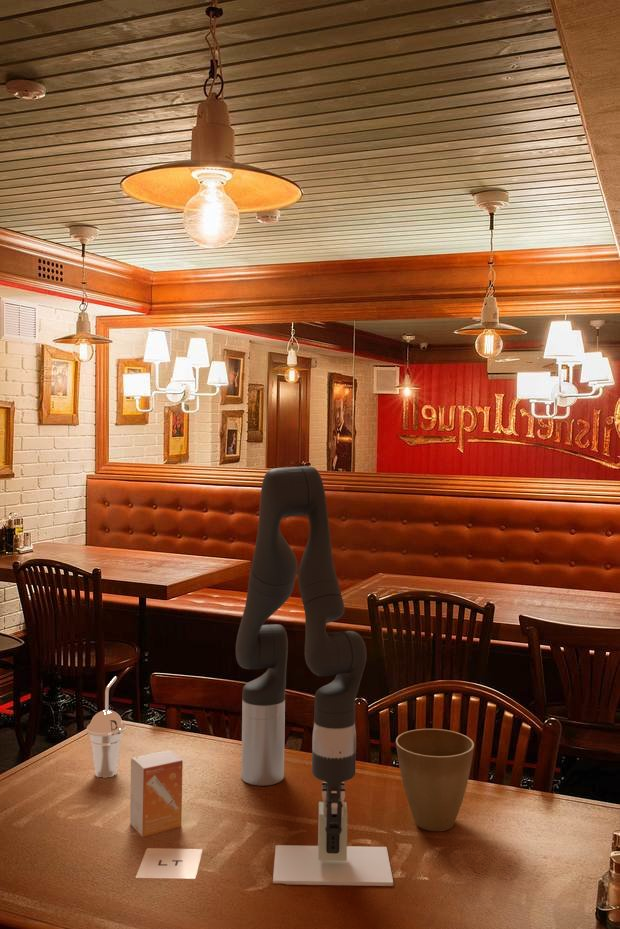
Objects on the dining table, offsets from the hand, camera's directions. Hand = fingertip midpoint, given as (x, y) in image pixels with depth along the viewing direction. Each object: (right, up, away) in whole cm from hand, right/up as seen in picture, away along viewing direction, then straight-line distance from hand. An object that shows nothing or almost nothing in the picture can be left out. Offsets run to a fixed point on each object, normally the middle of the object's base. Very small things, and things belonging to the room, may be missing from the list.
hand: (332, 844), depth 146 cm
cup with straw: (-48, -2, +38) cm, 61 cm away
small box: (-33, -3, +14) cm, 36 cm away
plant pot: (+20, -4, +17) cm, 27 cm away
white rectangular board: (0, -4, 0) cm, 4 cm away
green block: (0, -2, 0) cm, 2 cm away
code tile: (-28, -3, 0) cm, 28 cm away
